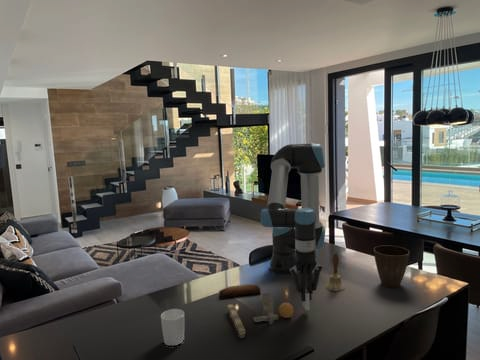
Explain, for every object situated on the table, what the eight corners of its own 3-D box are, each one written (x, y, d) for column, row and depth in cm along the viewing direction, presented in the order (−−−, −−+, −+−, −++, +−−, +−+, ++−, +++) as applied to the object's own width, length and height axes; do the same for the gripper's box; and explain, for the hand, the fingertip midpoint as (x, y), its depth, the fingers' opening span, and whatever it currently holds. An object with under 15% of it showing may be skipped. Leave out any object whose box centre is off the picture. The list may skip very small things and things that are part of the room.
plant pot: (392, 276, 173) (393, 243, 172) (416, 288, 159) (417, 252, 157) (366, 281, 169) (366, 247, 167) (389, 293, 155) (389, 257, 153)
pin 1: (262, 314, 141) (262, 292, 140) (267, 313, 141) (267, 291, 140) (264, 317, 139) (263, 294, 138) (269, 316, 139) (268, 293, 138)
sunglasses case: (256, 286, 167) (257, 277, 163) (259, 299, 162) (261, 290, 158) (217, 291, 164) (217, 282, 160) (219, 304, 158) (220, 295, 154)
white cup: (164, 336, 128) (162, 309, 127) (186, 334, 128) (185, 308, 127) (161, 349, 120) (159, 321, 119) (185, 347, 121) (183, 319, 119)
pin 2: (267, 322, 135) (266, 299, 134) (272, 321, 135) (272, 298, 134) (269, 324, 133) (268, 301, 132) (274, 323, 133) (273, 300, 132)
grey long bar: (228, 312, 144) (227, 305, 143) (233, 311, 144) (232, 304, 144) (240, 338, 124) (239, 330, 124) (245, 338, 125) (245, 329, 124)
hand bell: (343, 283, 167) (342, 250, 165) (346, 291, 159) (346, 256, 157) (324, 283, 168) (324, 250, 166) (327, 291, 159) (326, 256, 158)
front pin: (276, 313, 138) (253, 317, 136) (277, 314, 136) (254, 317, 134) (277, 319, 137) (254, 322, 136) (278, 320, 136) (255, 323, 134)
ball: (285, 297, 140) (292, 307, 142) (274, 305, 139) (280, 316, 141) (291, 303, 135) (298, 314, 136) (280, 312, 134) (286, 323, 135)
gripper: (293, 254, 133) (294, 315, 135) (325, 250, 136) (326, 310, 138) (285, 248, 140) (287, 306, 143) (316, 244, 143) (317, 301, 146)
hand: (306, 308), depth 140 cm, fingers closed
